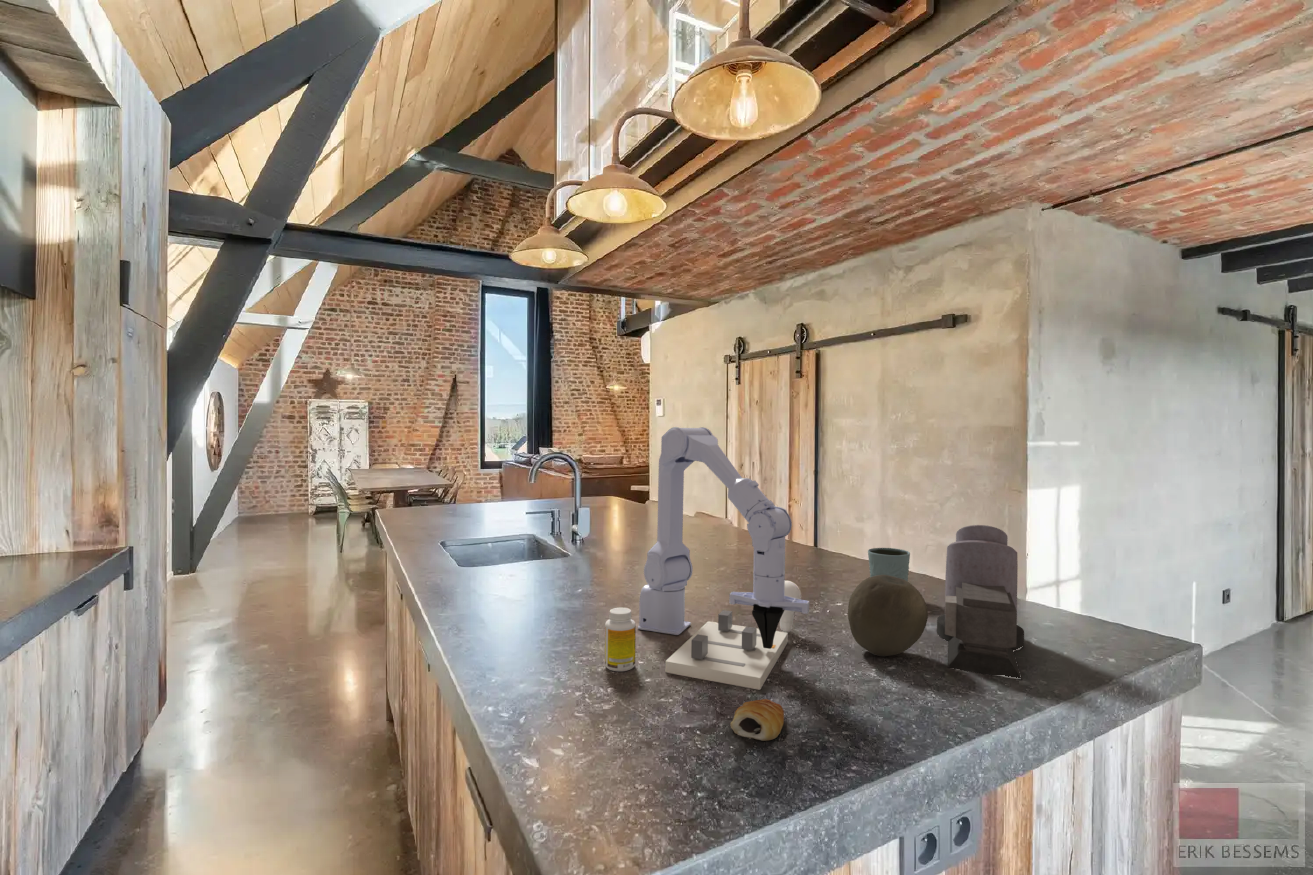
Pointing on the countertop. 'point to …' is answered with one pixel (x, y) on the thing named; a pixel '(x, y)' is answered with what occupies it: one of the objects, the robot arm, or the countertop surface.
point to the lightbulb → (787, 616)
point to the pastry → (758, 720)
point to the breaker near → (699, 646)
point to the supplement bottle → (620, 640)
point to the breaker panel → (728, 657)
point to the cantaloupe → (886, 615)
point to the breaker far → (725, 620)
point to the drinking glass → (889, 562)
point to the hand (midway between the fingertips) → (768, 646)
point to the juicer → (981, 603)
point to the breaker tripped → (749, 638)
